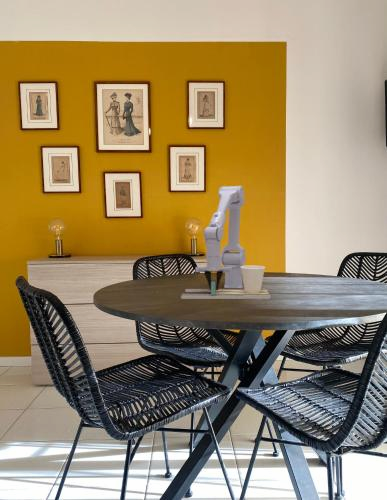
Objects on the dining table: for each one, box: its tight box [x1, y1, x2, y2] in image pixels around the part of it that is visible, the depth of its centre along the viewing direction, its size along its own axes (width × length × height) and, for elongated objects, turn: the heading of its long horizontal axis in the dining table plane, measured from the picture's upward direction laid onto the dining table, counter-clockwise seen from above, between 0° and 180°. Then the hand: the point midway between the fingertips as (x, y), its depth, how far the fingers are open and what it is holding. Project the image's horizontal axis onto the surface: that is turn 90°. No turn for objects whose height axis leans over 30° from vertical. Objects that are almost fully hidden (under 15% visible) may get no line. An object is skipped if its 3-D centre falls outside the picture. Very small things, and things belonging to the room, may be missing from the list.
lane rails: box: [180, 282, 272, 300], centre depth 200 cm, size 17×34×6 cm, turn 85°
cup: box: [240, 265, 266, 293], centre depth 201 cm, size 10×10×11 cm
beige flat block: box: [211, 279, 270, 294], centre depth 201 cm, size 11×23×6 cm, turn 85°
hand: (213, 289), depth 202 cm, fingers closed
